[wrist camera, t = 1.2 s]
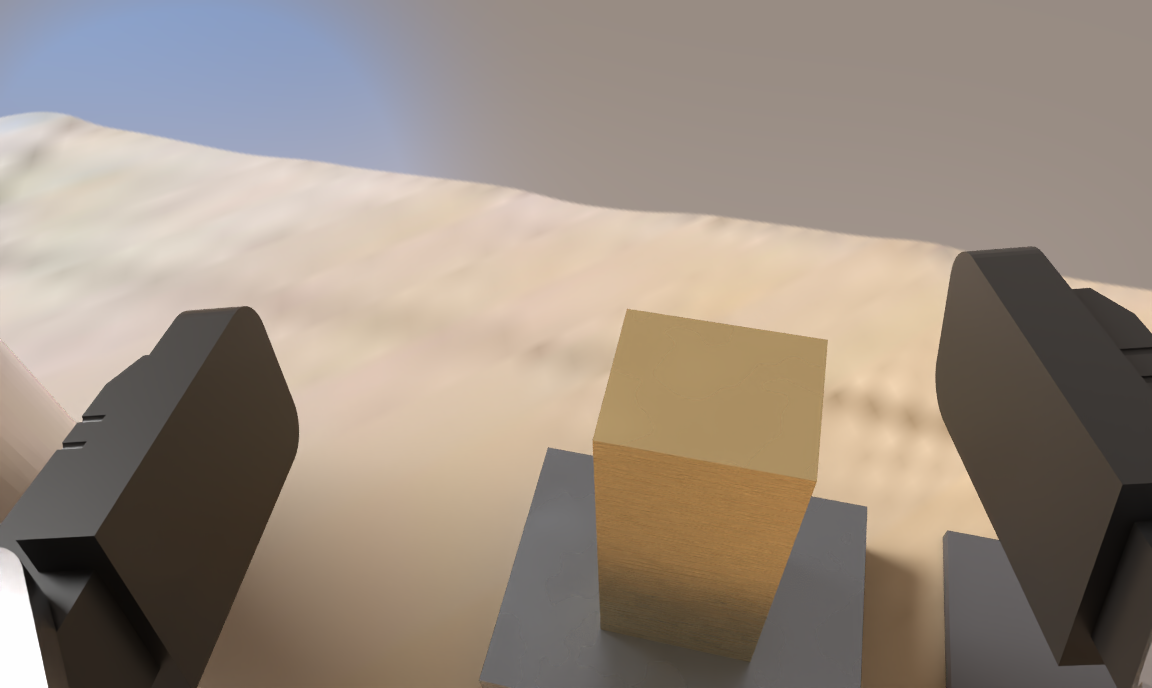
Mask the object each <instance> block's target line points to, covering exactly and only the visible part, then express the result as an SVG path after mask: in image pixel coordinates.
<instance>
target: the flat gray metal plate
mask: <svg viewBox="0 0 1152 688" xmlns="http://www.w3.org/2000/svg"><path fill="white" fill-rule="evenodd" d="M943 566H944V612H945V658H946V688H1117V687H1116V685H1115V683H1114V681H1113V679H1112V677H1111V675H1110V673H1109V671H1108V669H1107V667H1106V665H1078V666H1058V665H1057V662H1056V660H1055V658H1054V656H1053V654H1052V652H1051V650H1050V647H1049V645H1048V643H1047V641H1046V639H1045V637H1044V635H1043V632H1042V630H1041V628H1040V626H1039V624H1038V622H1037V620H1036V618H1035V615H1034V613H1033V611H1032V609H1031V607H1030V605H1029V603H1028V600H1027V598H1026V596H1025V594H1024V592H1023V590H1022V588H1021V585H1020V583H1019V581H1018V579H1017V577H1016V575H1015V573H1014V570H1013V568H1012V566H1011V564H1010V562H1009V560H1008V558H1007V556H1006V553H1005V551H1004V549H1003V547H1002V545H1001V543H1000V541H999V540H996V539H990V538H985V537H980V536H974V535H969V534H964V533H958V532H953V531H948V530H947V532H946V533H945V535H944V536H943Z"/></svg>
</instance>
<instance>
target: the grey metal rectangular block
mask: <svg viewBox="0 0 1152 688" xmlns="http://www.w3.org/2000/svg"><path fill="white" fill-rule="evenodd" d="M866 526H867V507H865V506H860V505H855V504H849V503H844V502H839V501H833V500H828V499H822V498H817V497H812V496H811V498H810V501H809V504H808V507H807V509H806V512H805V515H804V518H803V520H802V523H801V526H800V528H799V531H798V534H797V537H796V539H795V542H794V545H793V547H792V550H791V553H790V556H789V558H788V561H787V564H786V567H785V569H784V572H783V575H782V577H781V580H780V583H779V586H778V588H777V591H776V594H775V596H774V599H773V602H772V605H771V607H770V610H769V613H768V616H767V618H766V621H765V624H764V626H763V629H762V632H761V635H760V637H759V640H758V643H757V645H756V648H755V651H754V654H753V656H752V659H751V662H747V661H743V660H738V659H734V658H729V657H725V656H720V655H716V654H711V653H706V652H702V651H697V650H693V649H688V648H684V647H679V646H675V645H670V644H666V643H661V642H657V641H652V640H647V639H643V638H638V637H634V636H629V635H625V634H620V633H616V632H611V631H607V630H602V629H601V628H600V604H599V580H598V556H597V532H596V508H595V484H594V461H593V456H591V455H586V454H580V453H575V452H569V451H564V450H559V449H553V448H548V450H547V453H546V456H545V460H544V463H543V467H542V470H541V473H540V477H539V480H538V483H537V487H536V490H535V494H534V497H533V500H532V504H531V507H530V510H529V514H528V517H527V521H526V524H525V527H524V531H523V534H522V537H521V541H520V544H519V548H518V551H517V554H516V558H515V561H514V564H513V568H512V571H511V575H510V578H509V581H508V585H507V588H506V591H505V595H504V598H503V602H502V605H501V608H500V612H499V615H498V618H497V622H496V625H495V629H494V632H493V635H492V639H491V642H490V645H489V649H488V652H487V656H486V659H485V662H484V666H483V669H482V672H481V676H480V679H479V681H480V683H481V686H482V688H861V664H862V636H863V609H864V581H865V554H866Z"/></svg>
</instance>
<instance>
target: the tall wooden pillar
mask: <svg viewBox="0 0 1152 688" xmlns="http://www.w3.org/2000/svg"><path fill="white" fill-rule="evenodd" d="M827 342H828V340H824V339H818V338H811V337H805V336H799V335H792V334H786V333H779V332H773V331H766V330H760V329H753V328H747V327H741V326H734V325H728V324H721V323H715V322H708V321H702V320H695V319H689V318H683V317H676V316H670V315H663V314H657V313H650V312H644V311H637V310H631V309H627V311H626V315H625V319H624V323H623V326H622V330H621V334H620V338H619V342H618V345H617V349H616V353H615V357H614V361H613V365H612V368H611V372H610V376H609V380H608V384H607V387H606V391H605V395H604V399H603V403H602V407H601V410H600V414H599V418H598V422H597V426H596V429H595V433H594V437H593V461H594V484H595V508H596V532H597V556H598V580H599V604H600V628H601V629H602V630H607V631H611V632H616V633H620V634H625V635H629V636H634V637H638V638H643V639H647V640H652V641H657V642H661V643H666V644H670V645H675V646H679V647H684V648H688V649H693V650H697V651H702V652H706V653H711V654H716V655H720V656H725V657H729V658H734V659H738V660H743V661H747V662H751V659H752V656H753V654H754V651H755V648H756V645H757V643H758V640H759V637H760V635H761V632H762V629H763V626H764V624H765V621H766V618H767V616H768V613H769V610H770V607H771V605H772V602H773V599H774V596H775V594H776V591H777V588H778V586H779V583H780V580H781V577H782V575H783V572H784V569H785V567H786V564H787V561H788V558H789V556H790V553H791V550H792V547H793V545H794V542H795V539H796V537H797V534H798V531H799V528H800V526H801V523H802V520H803V518H804V515H805V512H806V509H807V507H808V504H809V501H810V498H811V496H812V493H813V490H814V488H815V485H816V482H817V472H818V459H819V446H820V433H821V420H822V407H823V394H824V381H825V368H826V355H827Z"/></svg>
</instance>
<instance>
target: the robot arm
mask: <svg viewBox="0 0 1152 688" xmlns="http://www.w3.org/2000/svg"><path fill="white" fill-rule="evenodd" d="M936 393H937V400H938V405H939V409H940V412H941V416H942V418H943V421H944V423H945V425H946V427H947V429H948V432H949V434H950V436H951V438H952V440H953V442H954V444H955V447H956V449H957V451H958V453H959V455H960V457H961V459H962V461H963V464H964V466H965V468H966V470H967V472H968V474H969V476H970V479H971V481H972V483H973V485H974V487H975V489H976V491H977V494H978V496H979V498H980V500H981V502H982V504H983V506H984V509H985V511H986V513H987V515H988V517H989V519H990V521H991V523H992V526H993V528H994V530H995V532H996V534H997V536H998V538H999V541H1000V543H1001V545H1002V547H1003V549H1004V551H1005V553H1006V556H1007V558H1008V560H1009V562H1010V564H1011V566H1012V568H1013V570H1014V573H1015V575H1016V577H1017V579H1018V581H1019V583H1020V585H1021V588H1022V590H1023V592H1024V594H1025V596H1026V598H1027V600H1028V603H1029V605H1030V607H1031V609H1032V611H1033V613H1034V615H1035V618H1036V620H1037V622H1038V624H1039V626H1040V628H1041V630H1042V632H1043V635H1044V637H1045V639H1046V641H1047V643H1048V645H1049V647H1050V650H1051V652H1052V654H1053V656H1054V658H1055V660H1056V662H1057V665H1058V666H1078V665H1106V667H1107V669H1108V671H1109V673H1110V675H1111V677H1112V679H1113V681H1114V683H1115V685H1116V687H1117V688H1152V333H1151V332H1150V331H1149V330H1148V329H1147V328H1146V326H1145V325H1144V324H1143V323H1142V322H1141V321H1140V320H1139V318H1138V317H1137V316H1136V315H1135V314H1134V313H1132V312H1130V311H1129V310H1127V309H1125V308H1124V307H1122V306H1120V305H1118V304H1117V303H1115V302H1113V301H1112V300H1110V299H1108V298H1106V297H1105V296H1103V295H1101V294H1100V293H1098V292H1096V291H1094V290H1093V289H1091V288H1083V289H1071V288H1070V286H1069V285H1068V284H1067V283H1066V281H1065V280H1064V279H1063V278H1062V276H1061V275H1060V274H1059V273H1058V271H1057V270H1056V269H1055V268H1054V266H1053V265H1052V264H1051V263H1050V261H1049V260H1048V259H1047V258H1046V256H1045V255H1044V254H1043V253H1042V252H1041V251H1040V250H1039V249H1038V248H1036V247H1019V248H1006V249H994V250H980V251H967V252H961V253H960V254H958V256H957V257H956V259H955V261H954V263H953V267H952V271H951V276H950V282H949V288H948V294H947V300H946V307H945V313H944V319H943V325H942V331H941V338H940V344H939V350H938V356H937V363H936ZM82 418H83V421H82V422H80V423H77V424H76V423H75V421H74V420H73V419H72V418H71V417H70V416H69V415H68V414H67V413H66V411H65V410H64V409H63V408H62V407H61V406H60V405H59V404H58V403H57V401H56V400H55V399H54V397H53V396H52V395H51V394H50V393H49V392H48V391H47V390H46V389H45V387H44V386H43V385H42V384H41V383H40V382H39V381H38V380H37V379H36V377H35V376H34V375H33V374H32V373H31V372H30V371H29V370H28V369H27V367H26V366H25V365H24V364H23V363H22V362H21V361H20V360H19V359H18V357H17V356H16V355H15V354H14V353H13V352H12V351H11V350H10V349H9V348H8V346H7V345H6V344H5V343H4V342H3V341H2V340H1V339H0V688H197V686H198V684H199V681H200V679H201V677H202V674H203V672H204V670H205V667H206V665H207V663H208V660H209V658H210V656H211V653H212V651H213V648H214V646H215V644H216V641H217V639H218V637H219V634H220V632H221V630H222V627H223V625H224V623H225V620H226V618H227V616H228V613H229V611H230V609H231V606H232V604H233V602H234V599H235V597H236V595H237V592H238V590H239V588H240V585H241V583H242V581H243V578H244V576H245V574H246V571H247V569H248V567H249V564H250V562H251V559H252V557H253V555H254V552H255V550H256V548H257V545H258V543H259V541H260V538H261V536H262V534H263V531H264V529H265V527H266V524H267V522H268V520H269V517H270V515H271V513H272V510H273V508H274V506H275V503H276V501H277V499H278V496H279V494H280V492H281V489H282V487H283V485H284V482H285V480H286V478H287V475H288V473H289V470H290V468H291V466H292V463H293V461H294V459H295V456H296V453H297V448H298V442H299V423H298V416H297V411H296V407H295V404H294V402H293V399H292V396H291V394H290V391H289V389H288V386H287V384H286V381H285V379H284V376H283V373H282V371H281V368H280V366H279V363H278V361H277V358H276V356H275V353H274V350H273V348H272V345H271V343H270V340H269V338H268V335H267V333H266V330H265V327H264V325H263V323H262V320H261V319H260V317H259V315H258V314H257V313H256V312H255V310H253V309H252V308H250V307H248V306H242V307H229V308H216V309H203V310H191V311H185V312H182V313H181V314H179V315H178V316H177V317H176V319H175V320H174V321H173V323H172V324H171V326H170V327H169V328H168V330H167V331H166V332H165V334H164V335H163V337H162V338H161V339H160V341H159V342H158V344H157V345H156V346H155V348H154V349H153V350H152V352H151V353H150V355H145V356H142V357H141V358H140V359H139V360H137V361H136V362H135V363H133V364H132V365H131V366H129V367H128V368H127V369H125V370H124V371H123V372H122V373H120V374H119V375H118V376H116V377H115V378H114V379H112V380H111V381H110V382H109V383H107V384H106V385H105V386H104V388H103V389H102V390H101V392H100V393H99V394H98V396H97V397H96V398H95V400H94V401H93V402H92V404H91V405H90V406H89V408H88V409H87V410H86V412H85V413H84V414H83V416H82Z"/></svg>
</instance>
